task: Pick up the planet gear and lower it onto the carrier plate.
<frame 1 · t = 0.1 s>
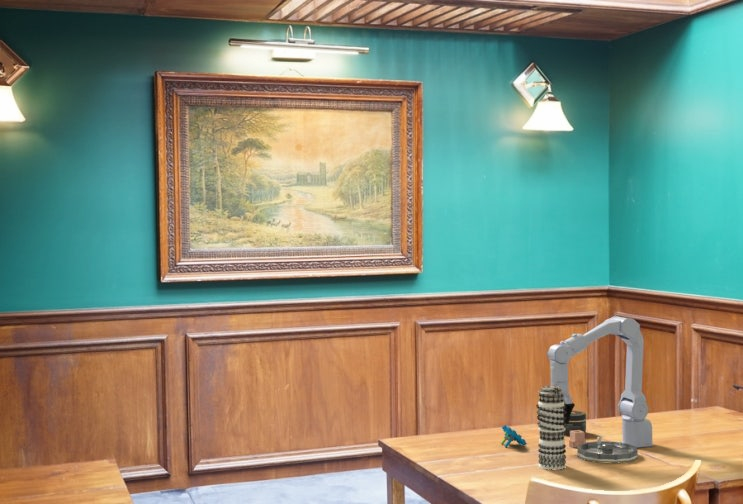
hand: (560, 422, 312), 10 cm above the table, tool pointing down, fingers open, 7 cm apart
jar: (572, 434, 340), on the table
blue piece: (513, 446, 322), on the table
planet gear: (577, 446, 321), on the table
carrier plate: (607, 456, 306), on the table
decorative candle: (552, 467, 293), on the table
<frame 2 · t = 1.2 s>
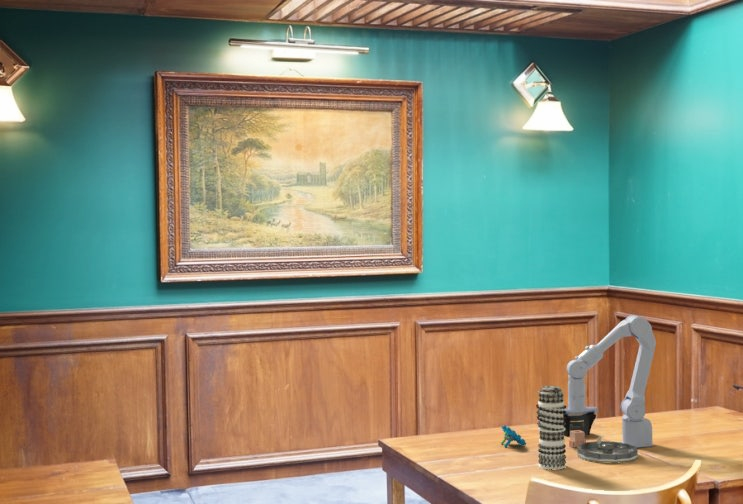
hand: (577, 435, 320), 4 cm above the table, tool pointing down, fingers open, 7 cm apart
nothing on the table moved.
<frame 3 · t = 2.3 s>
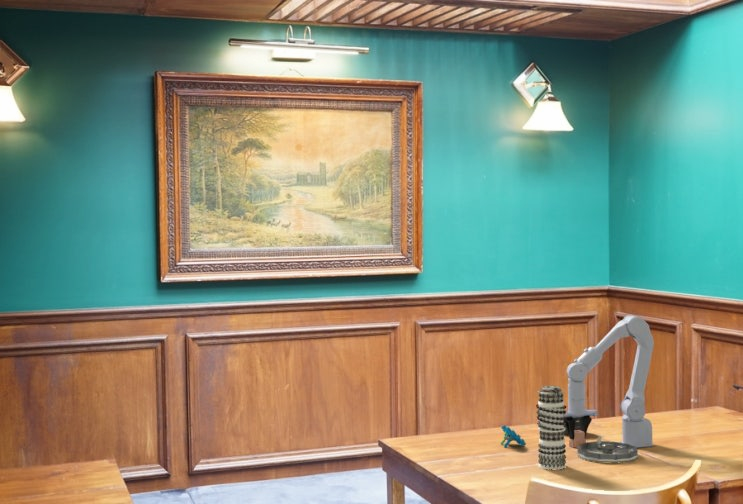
hand: (577, 438, 320), 3 cm above the table, tool pointing down, fingers closed on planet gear, 4 cm apart
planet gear: (577, 446, 321), on the table, touching gripper
everything else where it was.
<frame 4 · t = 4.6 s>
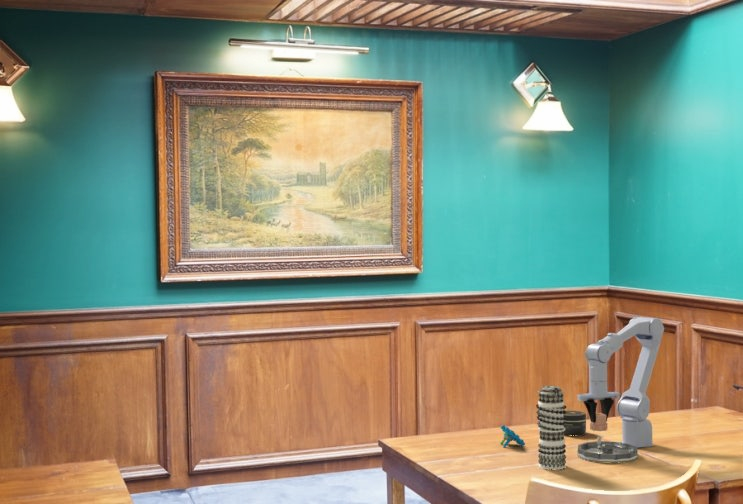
hand: (598, 421, 310), 10 cm above the table, tool pointing down, fingers closed on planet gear, 4 cm apart
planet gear: (598, 429, 311), point 8 cm above the table, touching gripper
everything else where it was.
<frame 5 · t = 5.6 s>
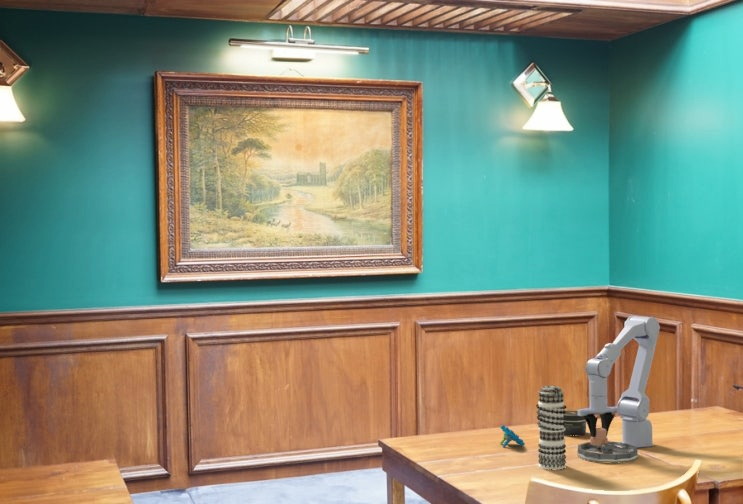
hand: (598, 436, 311), 5 cm above the table, tool pointing down, fingers closed on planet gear, 4 cm apart
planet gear: (598, 444, 311), point 3 cm above the table, touching gripper
everything else where it was.
when the fingers open (5 cm above the table, at t = 6.6 s): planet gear stays where it is, resting on carrier plate.
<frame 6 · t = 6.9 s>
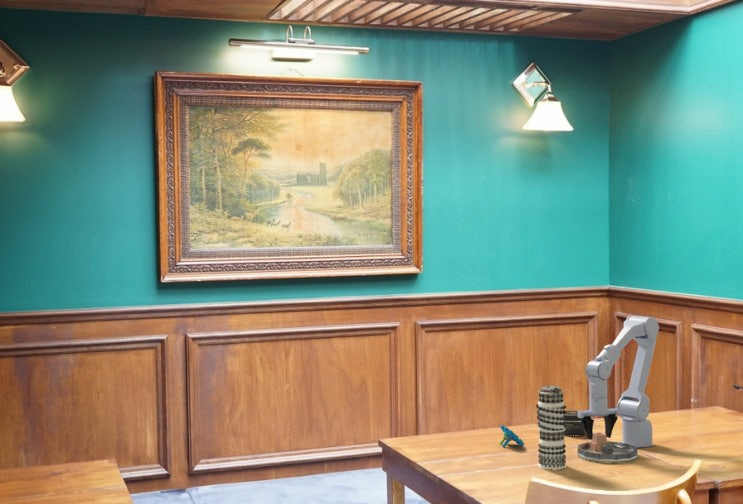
hand: (599, 438, 311), 5 cm above the table, tool pointing down, fingers open, 6 cm apart
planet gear: (599, 448, 311), point 1 cm above the table, touching carrier plate
everything else where it was.
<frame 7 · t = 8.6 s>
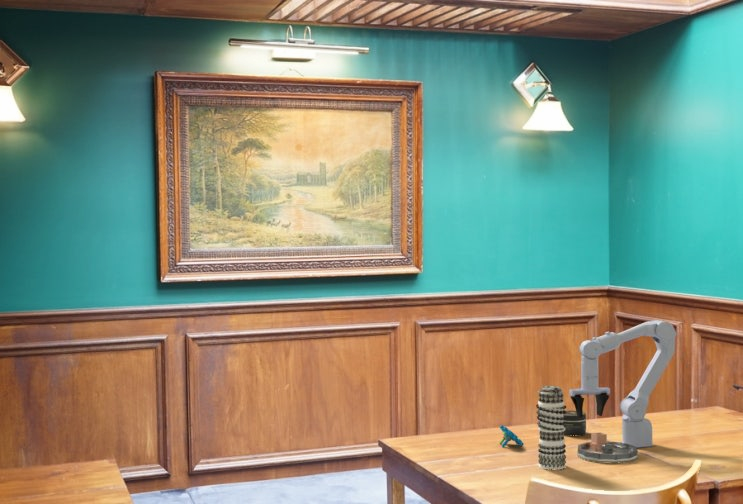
hand: (589, 416, 319), 10 cm above the table, tool pointing down, fingers open, 7 cm apart
nothing on the table moved.
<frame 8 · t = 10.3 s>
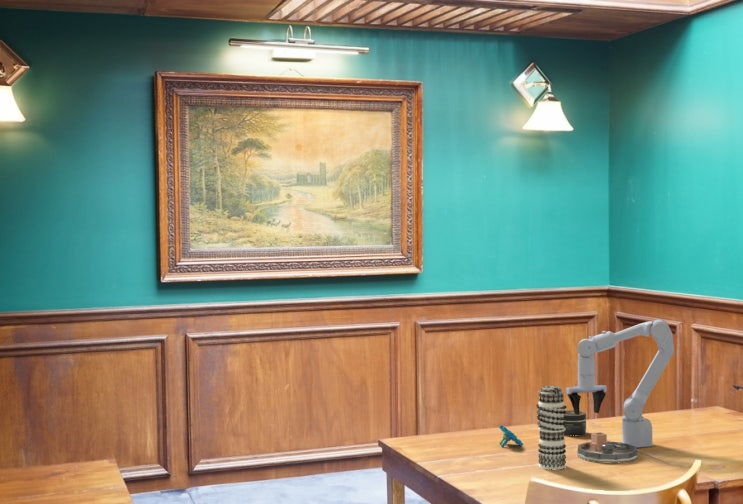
hand: (586, 413, 324), 10 cm above the table, tool pointing down, fingers open, 7 cm apart
at the end: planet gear 0.1 cm from the target spot on the carrier plate, point 1.2 cm above the carrier plate's base; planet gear tilted 0°; the gripper is holding nothing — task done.
